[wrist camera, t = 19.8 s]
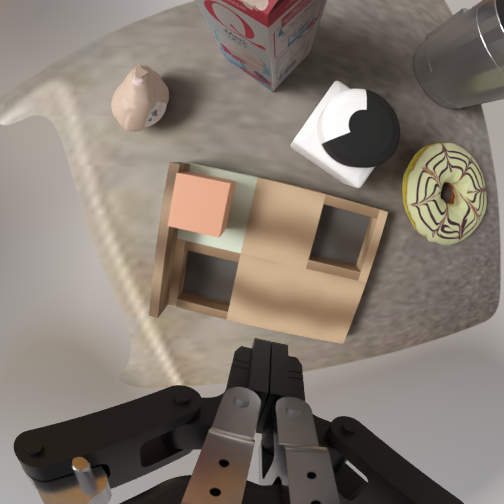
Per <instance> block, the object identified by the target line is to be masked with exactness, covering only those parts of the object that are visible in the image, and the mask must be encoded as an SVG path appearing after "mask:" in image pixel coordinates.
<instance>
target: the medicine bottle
mask: <svg viewBox="0 0 504 504" xmlns="http://www.w3.org/2000/svg"><path fill="white" fill-rule="evenodd" d="M399 137H400V127H399V122H398V119H397V116H396V114H395V112H394V110H393V108H392V107H391V106H390V104H389V103H388V102H387V101H386V100H385V99H383V98H382V97H381V96H379V95H378V94H376V93H374V92H372V91H369V90H365V89H350V88H349V87H347V86H346V85H344V84H343V83H341V82H340V81H335V82H334V83H333V84H332V86H331V87H330V89H329V90H328V91H327V93H326V94H325V96H324V97H323V98H322V100H321V101H320V103H319V104H318V106H317V107H316V108H315V110H314V111H313V113H312V114H311V116H310V117H309V118H308V120H307V121H306V123H305V124H304V126H303V127H302V129H301V130H300V131H299V133H298V134H297V136H296V137H295V139H294V140H293V142H292V143H291V148H292V149H294V150H295V151H297V152H298V153H300V154H301V155H303V156H304V157H306V158H307V159H308V160H310V161H311V162H313V163H314V164H316V165H317V166H319V167H320V168H321V169H323V170H324V171H326V172H327V173H328V174H330V175H331V176H333V177H334V178H335V179H337V180H338V181H339V182H341V183H343V184H346V185H349V186H353V187H356V188H360V187H361V186H362V185H363V184H364V182H365V181H366V179H367V178H368V176H369V175H370V173H371V172H372V170H373V169H374V167H375V166H378V165H380V164H382V163H384V162H386V161H387V160H388V159H389V158H390V157H391V156H392V155H393V153H394V152H395V150H396V148H397V146H398V142H399Z"/></svg>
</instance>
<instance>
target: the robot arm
mask: <svg viewBox="0 0 504 504" xmlns="http://www.w3.org/2000/svg"><path fill="white" fill-rule="evenodd" d="M414 69H415V73H416V76H417V79H418V81H419V83H420V85H421V86H422V88H423V89H424V91H425V92H426V93H427V94H428V96H429V97H430V98H431V99H433V100H434V101H435V102H436V103H438V104H440V105H441V106H443V107H446V108H449V109H460V108H465V107H469V106H473V105H478V104H482V103H487V102H491V101H496V100H501V99H504V0H482V1H481V2H479V3H478V4H477V5H475V6H474V7H472V8H471V9H469V10H468V9H461V10H460V11H459V12H457V13H456V14H455V15H453V16H452V17H451V18H449V19H448V20H447V21H445V22H444V23H443V24H441V25H440V26H439V27H438V28H436V29H435V30H434V31H432V32H431V33H430V34H429V35H428V36H427V41H425V42H424V43H423V44H421V45H420V46H419V48H418V49H417V51H416V53H415V57H414ZM302 373H303V372H302V365H301V363H300V362H299V360H298V359H297V358H296V357H291V356H288V345H285V344H281V343H276V342H271V341H266V340H261V339H257V338H255V339H254V342H253V346H252V348H247V347H243V346H241V347H240V348H238V349H237V350H236V351H235V354H234V358H233V362H232V366H231V370H230V374H229V378H228V383H227V388H226V390H225V392H224V393H223V394H221V395H219V396H217V397H212V398H201V396H200V394H199V393H198V392H197V391H195V390H194V389H192V388H190V387H187V386H181V385H176V386H171V387H169V388H166V389H163V390H160V391H158V392H155V393H152V394H149V395H147V396H144V397H141V398H138V399H135V400H133V401H129V402H126V403H124V404H120V405H117V406H114V407H111V408H108V409H105V410H102V411H99V412H95V413H92V414H89V415H85V416H82V417H78V418H75V419H71V420H68V421H64V422H61V423H57V424H53V425H49V426H45V427H41V428H37V429H33V430H29V431H25V432H23V433H21V434H20V435H19V436H18V437H17V438H16V439H15V442H14V451H15V454H16V456H17V458H18V460H19V461H20V463H21V465H22V468H23V470H24V472H25V473H26V475H27V477H28V478H29V479H30V481H31V482H32V484H33V486H34V487H35V488H36V489H37V490H38V492H39V494H40V496H41V498H42V500H43V502H44V504H107V503H108V502H109V501H110V499H111V488H114V487H117V486H119V485H122V484H124V483H127V482H129V481H132V480H134V479H136V478H138V477H141V476H143V475H145V474H148V473H150V472H152V471H154V470H156V469H159V468H161V467H163V466H165V465H167V464H169V463H171V462H173V461H175V460H177V459H179V458H181V457H183V456H185V455H187V454H189V453H190V452H191V451H192V450H193V449H202V450H201V452H200V455H199V458H198V461H197V463H196V466H195V468H194V471H193V473H192V475H187V476H180V477H175V478H172V479H169V480H166V481H164V482H162V483H160V484H158V485H156V486H155V487H153V488H151V489H149V490H147V491H145V492H143V493H141V494H139V495H137V496H135V497H133V498H130V499H128V500H126V501H124V502H122V503H120V504H464V503H463V502H462V501H461V500H459V499H458V498H456V497H455V496H454V495H452V494H451V493H449V492H448V491H447V490H445V489H444V488H442V487H441V486H440V485H438V484H437V483H436V482H434V481H433V480H432V479H430V478H429V477H428V476H426V475H425V474H424V473H422V472H421V471H420V470H419V469H417V468H416V467H414V466H413V465H412V464H411V463H409V462H408V461H407V460H405V459H404V458H403V457H402V456H400V455H399V454H398V453H397V452H395V451H394V450H393V449H392V448H390V447H389V446H388V445H387V444H386V443H384V442H383V441H382V440H380V439H379V438H378V437H377V436H375V435H374V434H373V433H372V432H371V431H370V430H368V429H367V428H366V427H365V426H363V425H362V424H361V423H360V422H359V421H357V420H355V419H353V418H351V417H346V416H341V417H337V418H335V419H334V420H333V421H332V422H329V421H327V420H324V419H321V418H319V417H317V416H315V415H313V414H312V410H311V408H310V406H309V405H308V404H307V403H306V402H305V394H304V383H303V375H302ZM255 430H256V433H261V434H262V440H261V443H260V445H259V449H258V456H259V485H258V484H255V483H253V482H250V481H247V476H248V471H249V467H250V462H251V458H252V453H253V448H254V443H255V440H253V439H254V434H255ZM347 460H348V461H349V462H350V463H351V464H353V465H354V466H355V467H356V468H357V469H358V470H359V471H360V472H362V473H363V474H364V475H365V476H366V477H367V479H368V482H366V481H365V480H364V479H363V478H362V477H360V476H359V475H358V474H357V473H356V472H355V471H354V470H353V469H351V468H350V467H349V466H348V465H347V464H346V461H347Z"/></svg>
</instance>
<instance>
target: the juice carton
mask: <svg viewBox="0 0 504 504" xmlns="http://www.w3.org/2000/svg"><path fill="white" fill-rule="evenodd" d="M195 1H196V3H197V5H198V7H199V9H200V11H201V12H202V14H203V16H204V18H205V20H206V22H207V24H208V25H209V27H210V29H211V31H212V33H213V35H214V37H215V39H216V41H217V43H218V44H219V46H220V48H221V50H222V52H223V54H224V56H225V58H226V59H227V60H229V61H230V62H232V63H233V64H235V65H236V66H237V67H239V68H240V69H242V70H243V71H245V72H246V73H247V74H249V75H250V76H252V77H253V78H254V79H256V80H257V81H258V82H260V83H261V84H263V85H264V86H265V87H267V88H268V89H269V90H271V91H272V92H273V91H274V90H275V89H276V88H277V87H278V86H279V85H280V84H281V83H282V82H283V81H284V79H285V78H286V77H287V76H288V75H289V74H290V73H291V72H292V71H293V70H294V69H295V68H296V67H297V66H298V65H299V64H300V63H301V62H302V61H303V60H304V59H305V58H306V57H307V56H308V55H309V54H310V53H311V50H312V47H313V43H314V40H315V37H316V33H317V30H318V27H319V23H320V20H321V17H322V13H323V10H324V7H325V3H326V0H195Z"/></svg>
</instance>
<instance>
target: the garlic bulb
mask: <svg viewBox="0 0 504 504" xmlns="http://www.w3.org/2000/svg"><path fill="white" fill-rule="evenodd" d="M168 101H169V91H168V87H167V85H165V83H164V81H162V80H161V78H160V76H159V74H158V73H156V72H155V71H153V70H152V69H151V68H149V67H147V66H141V65H140V64H138V65H137V64H136V67H135V68H134V69H133V70H132V71H131V72H130V73H129V74H128V76H127V77H126V79H125V80H124V81H123V83H122V84H121V85H120V86H119V87H118V88H117V89H116V91H115V93H114V95H113V98H112V105H111V107H112V112H113V115H114V116H115V118H116V119H117V120H118V122H119V123H120V125H121V126H123V127H124V128H125V130H127V131H141V130H142V129H143V128H145V127H149V126H151V125H153V124H155V123H156V122H157V121H159V120H160V119H161V117H162V116H163V115H164V113H165V110H166V106H167V103H168Z"/></svg>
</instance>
